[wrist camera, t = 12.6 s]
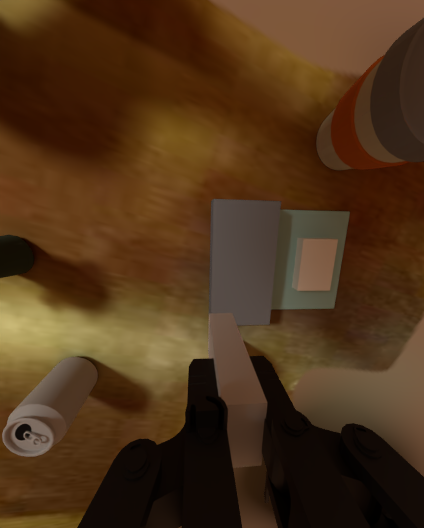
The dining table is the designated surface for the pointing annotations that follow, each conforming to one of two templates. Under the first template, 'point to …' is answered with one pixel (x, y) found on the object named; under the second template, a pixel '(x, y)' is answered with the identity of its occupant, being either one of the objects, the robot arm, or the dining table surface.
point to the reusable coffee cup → (380, 112)
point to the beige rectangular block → (314, 264)
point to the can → (50, 408)
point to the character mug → (14, 256)
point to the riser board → (243, 258)
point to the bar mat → (289, 230)
